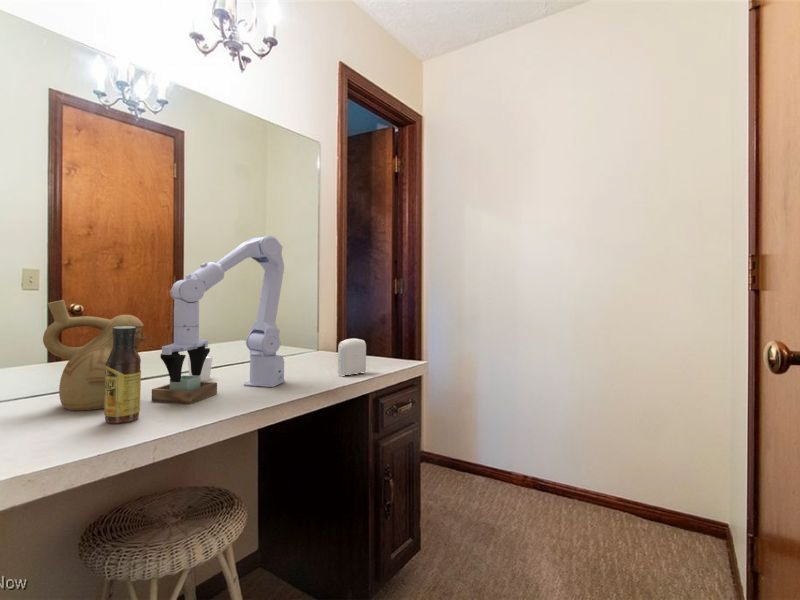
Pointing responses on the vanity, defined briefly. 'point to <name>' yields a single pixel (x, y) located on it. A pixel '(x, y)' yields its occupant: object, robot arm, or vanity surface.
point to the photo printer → (351, 356)
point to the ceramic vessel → (85, 356)
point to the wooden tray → (184, 393)
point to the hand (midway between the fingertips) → (186, 378)
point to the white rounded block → (203, 368)
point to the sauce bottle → (122, 378)
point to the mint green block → (186, 383)
